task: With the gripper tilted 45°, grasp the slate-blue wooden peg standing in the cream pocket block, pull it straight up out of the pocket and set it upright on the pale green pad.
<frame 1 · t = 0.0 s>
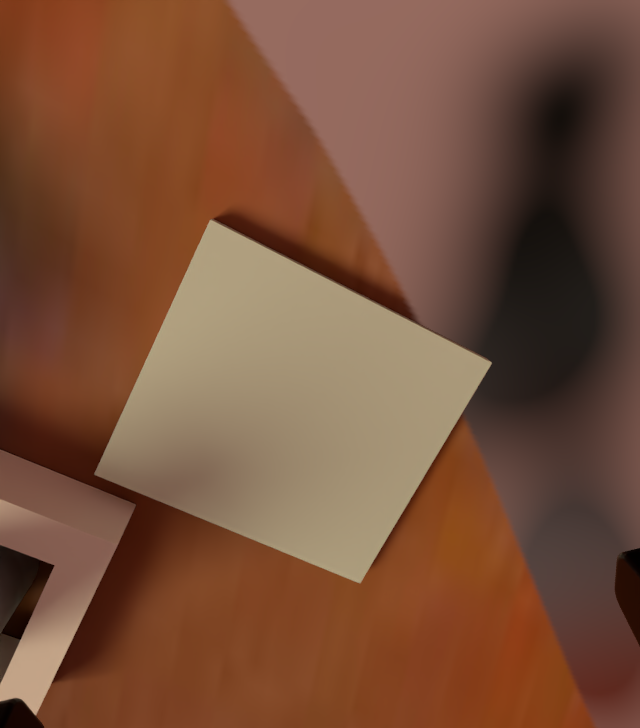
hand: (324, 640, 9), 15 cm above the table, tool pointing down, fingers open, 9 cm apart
pad: (291, 411, 24), on the table
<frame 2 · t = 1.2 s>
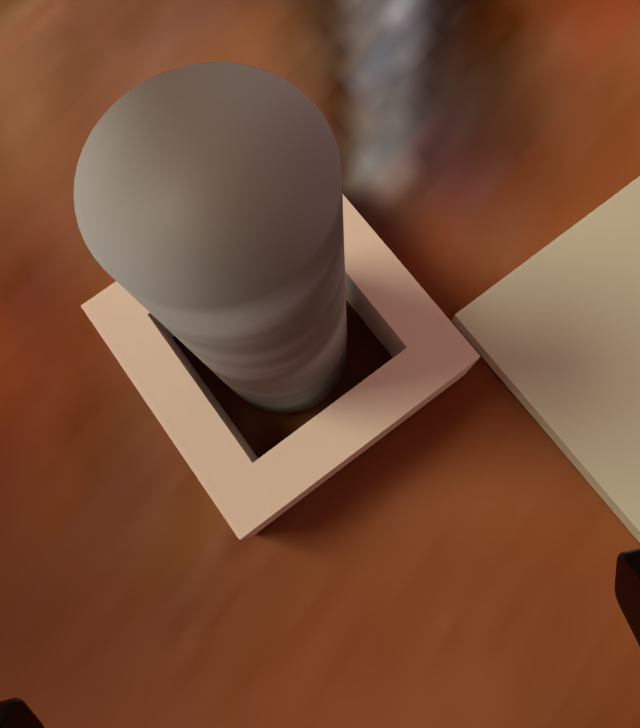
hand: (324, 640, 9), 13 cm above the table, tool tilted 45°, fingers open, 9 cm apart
peg: (259, 296, 17), in the pocket block
pocket block: (284, 351, 24), on the table
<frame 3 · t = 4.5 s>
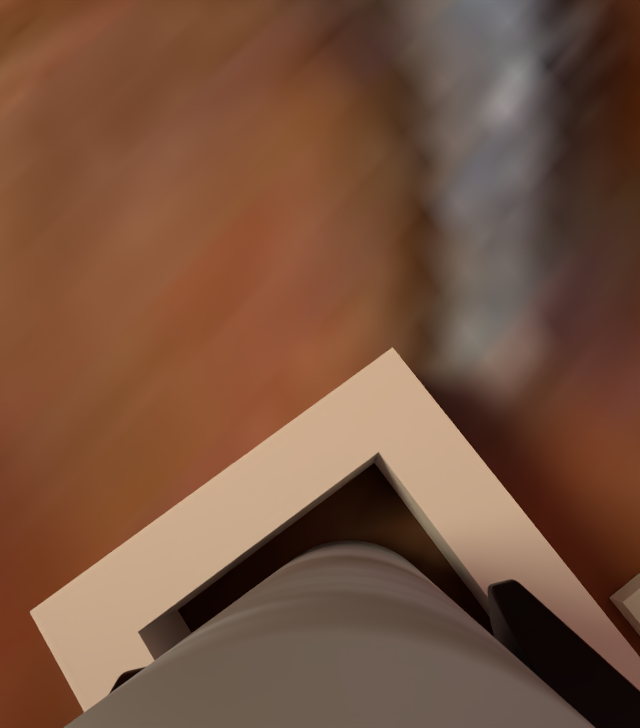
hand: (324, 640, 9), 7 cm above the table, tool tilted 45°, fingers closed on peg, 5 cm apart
pocket block: (350, 641, 15), on the table
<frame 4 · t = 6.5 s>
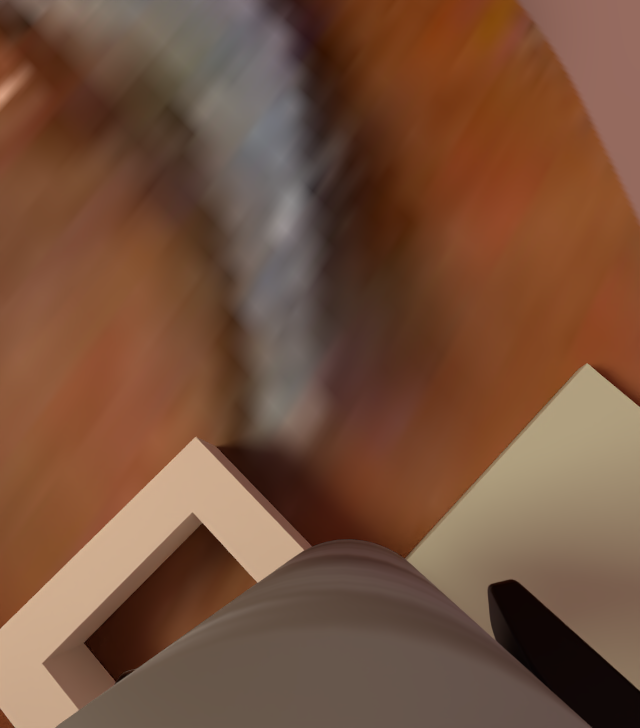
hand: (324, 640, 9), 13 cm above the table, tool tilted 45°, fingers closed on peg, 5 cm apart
pad: (615, 591, 21), on the table
pocket block: (208, 643, 21), on the table
when the fingers open (9 cm above the table, at t = 8.7 s): peg drops 1 cm, resting on pad.
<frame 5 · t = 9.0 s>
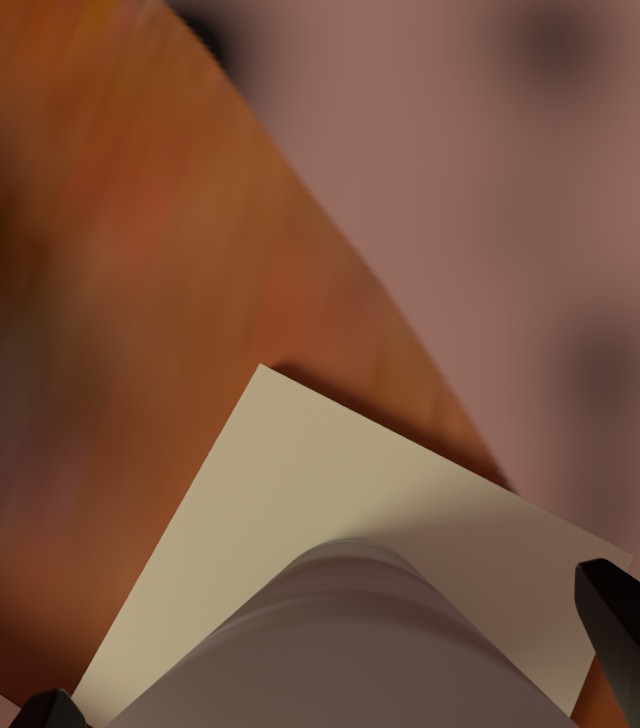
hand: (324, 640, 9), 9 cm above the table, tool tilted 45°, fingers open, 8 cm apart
peg: (349, 711, 10), on the pad, point 7 cm above the table
pad: (351, 626, 17), on the table
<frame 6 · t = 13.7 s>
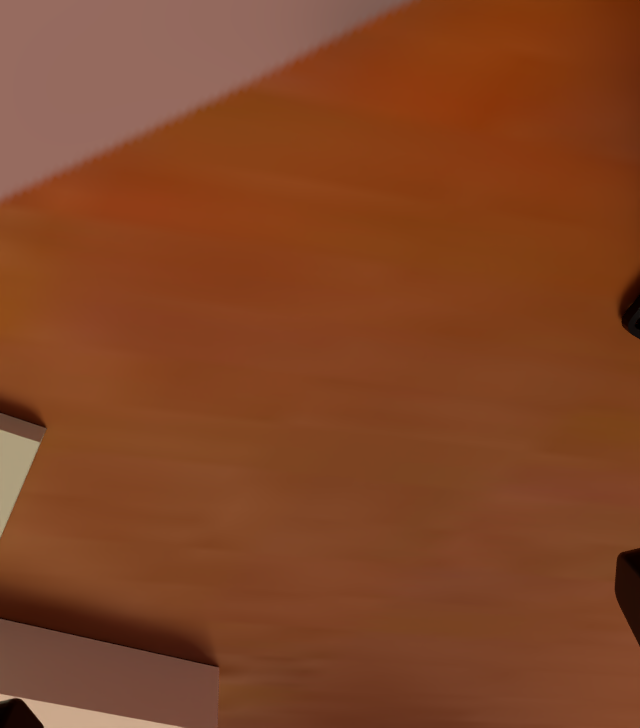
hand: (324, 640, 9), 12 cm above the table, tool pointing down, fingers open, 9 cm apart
pocket block: (76, 708, 28), on the table
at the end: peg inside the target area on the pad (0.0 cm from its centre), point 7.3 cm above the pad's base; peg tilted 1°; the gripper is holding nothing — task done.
